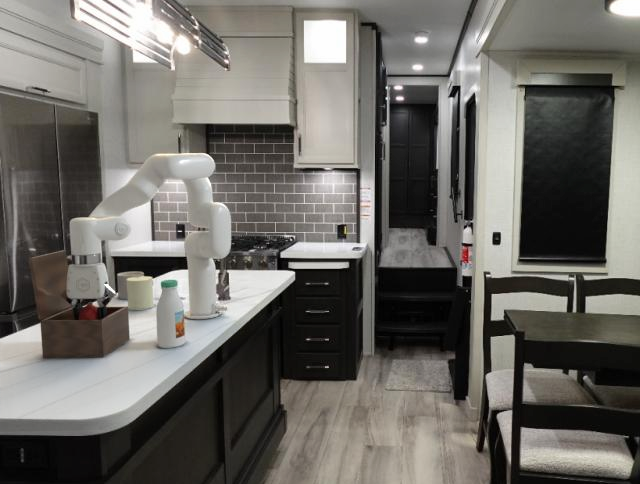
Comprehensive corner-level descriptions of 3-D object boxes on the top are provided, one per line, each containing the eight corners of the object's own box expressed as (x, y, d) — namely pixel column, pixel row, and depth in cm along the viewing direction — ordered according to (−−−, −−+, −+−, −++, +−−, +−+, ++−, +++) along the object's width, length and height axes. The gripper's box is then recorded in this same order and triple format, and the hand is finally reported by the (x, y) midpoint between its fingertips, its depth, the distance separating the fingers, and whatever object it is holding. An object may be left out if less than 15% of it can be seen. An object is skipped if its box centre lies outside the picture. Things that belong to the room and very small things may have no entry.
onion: (91, 332, 144) (89, 305, 143) (74, 330, 145) (72, 304, 144) (106, 326, 149) (105, 300, 148) (90, 325, 150) (89, 299, 149)
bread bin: (129, 339, 156) (128, 306, 155) (103, 357, 140) (101, 320, 139) (75, 340, 155) (73, 306, 154) (42, 358, 139) (40, 320, 138)
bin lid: (65, 250, 151) (63, 250, 151) (31, 258, 136) (28, 258, 136) (74, 305, 154) (71, 305, 154) (41, 319, 138) (38, 319, 138)
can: (149, 303, 201) (148, 274, 200) (157, 307, 195) (156, 277, 193) (124, 306, 195) (123, 277, 193) (131, 311, 188) (130, 280, 187)
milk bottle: (167, 350, 147) (164, 284, 145) (152, 345, 151) (149, 281, 149) (190, 343, 153) (188, 280, 151) (175, 338, 157) (173, 277, 155)
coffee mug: (115, 299, 206) (113, 276, 204) (122, 294, 215) (121, 271, 214) (149, 298, 209) (148, 275, 208) (155, 293, 218) (154, 271, 217)
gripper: (48, 261, 140) (52, 323, 142) (110, 261, 142) (114, 323, 144) (64, 257, 148) (67, 316, 150) (123, 257, 149) (126, 315, 151)
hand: (90, 318), depth 147 cm, fingers closed on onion, 5 cm apart
